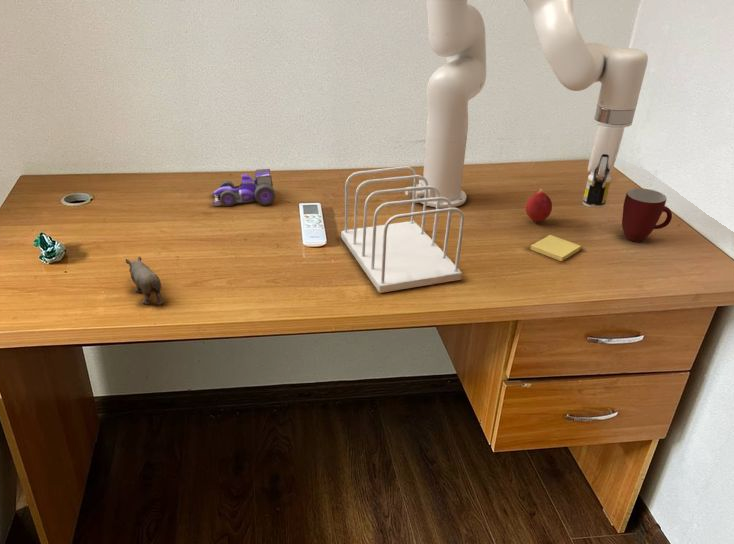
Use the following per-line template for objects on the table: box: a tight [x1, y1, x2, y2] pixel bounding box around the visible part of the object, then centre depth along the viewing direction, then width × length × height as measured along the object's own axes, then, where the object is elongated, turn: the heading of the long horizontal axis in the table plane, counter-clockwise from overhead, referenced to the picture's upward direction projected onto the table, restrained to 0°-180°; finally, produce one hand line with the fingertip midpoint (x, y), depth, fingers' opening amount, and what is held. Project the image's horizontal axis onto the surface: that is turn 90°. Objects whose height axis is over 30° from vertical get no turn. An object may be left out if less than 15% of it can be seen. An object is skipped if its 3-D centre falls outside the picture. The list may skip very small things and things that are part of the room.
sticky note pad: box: [530, 234, 582, 262], centre depth 143 cm, size 8×8×1 cm
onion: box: [525, 188, 553, 224], centre depth 152 cm, size 6×6×8 cm
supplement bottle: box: [582, 169, 612, 209], centre depth 145 cm, size 5×5×8 cm
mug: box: [621, 188, 673, 243], centre depth 145 cm, size 11×8×10 cm
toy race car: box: [212, 168, 276, 207], centre depth 162 cm, size 10×15×6 cm, turn 100°
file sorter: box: [340, 165, 465, 294], centre depth 135 cm, size 25×17×16 cm
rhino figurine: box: [125, 256, 165, 306], centre depth 126 cm, size 4×14×6 cm, turn 33°
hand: (594, 198), depth 146 cm, fingers closed on supplement bottle, 4 cm apart
